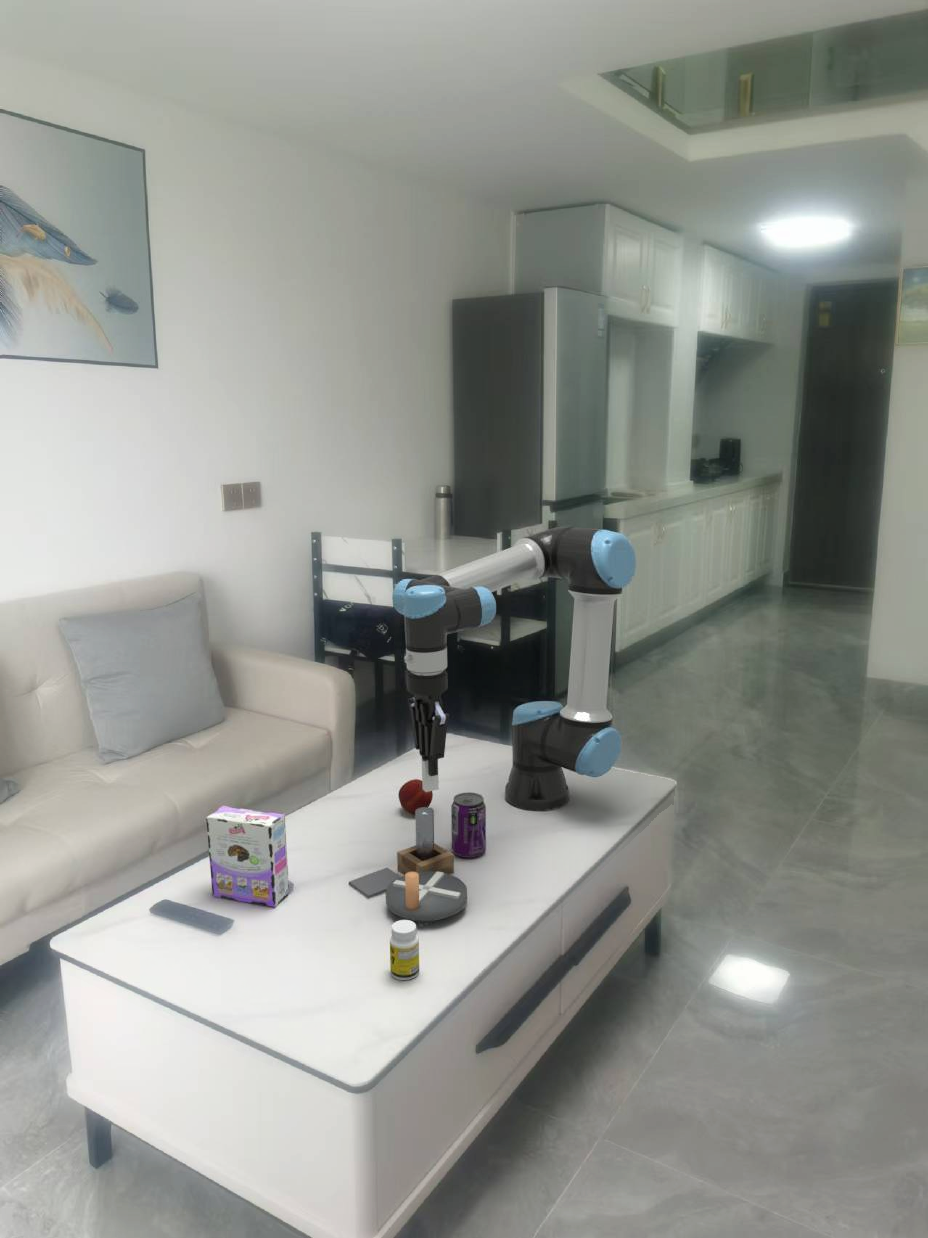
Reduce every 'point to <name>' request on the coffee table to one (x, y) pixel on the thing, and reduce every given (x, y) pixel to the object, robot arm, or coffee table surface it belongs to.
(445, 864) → the block
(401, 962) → the supplement bottle
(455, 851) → the beverage can
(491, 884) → the coffee table surface
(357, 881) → the rest mat
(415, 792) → the apple
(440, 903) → the handwheel
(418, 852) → the grey cylinder
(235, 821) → the candy box
